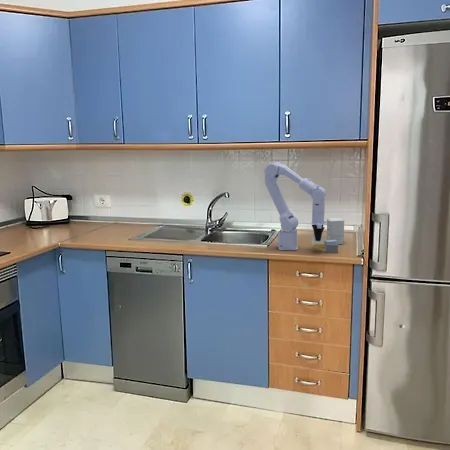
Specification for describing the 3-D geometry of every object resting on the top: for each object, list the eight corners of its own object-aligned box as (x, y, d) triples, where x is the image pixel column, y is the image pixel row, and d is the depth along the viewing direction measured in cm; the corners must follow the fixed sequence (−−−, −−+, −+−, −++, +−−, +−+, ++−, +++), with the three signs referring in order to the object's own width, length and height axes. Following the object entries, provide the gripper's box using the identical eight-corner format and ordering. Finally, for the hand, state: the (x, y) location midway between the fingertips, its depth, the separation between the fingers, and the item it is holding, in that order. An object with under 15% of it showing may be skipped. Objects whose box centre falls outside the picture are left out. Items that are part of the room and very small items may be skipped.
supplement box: (340, 241, 249) (340, 217, 246) (343, 244, 241) (344, 220, 239) (326, 241, 248) (326, 218, 246) (329, 244, 241) (330, 220, 239)
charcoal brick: (326, 253, 226) (326, 245, 225) (325, 251, 228) (325, 243, 228) (337, 253, 225) (338, 245, 224) (336, 251, 228) (337, 243, 227)
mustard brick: (313, 248, 236) (314, 240, 235) (313, 246, 239) (313, 238, 238) (325, 248, 235) (325, 240, 234) (324, 246, 238) (324, 238, 237)
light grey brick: (312, 243, 227) (312, 235, 227) (311, 242, 230) (312, 234, 230) (323, 244, 227) (324, 236, 226) (323, 242, 230) (323, 234, 229)
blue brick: (327, 249, 232) (327, 241, 231) (324, 248, 235) (324, 240, 234) (337, 248, 233) (337, 241, 232) (334, 247, 236) (334, 239, 235)
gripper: (328, 215, 218) (327, 243, 221) (325, 210, 232) (324, 236, 235) (313, 215, 219) (312, 243, 222) (310, 209, 233) (310, 236, 236)
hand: (317, 240), depth 228 cm, fingers closed on light grey brick, 3 cm apart
